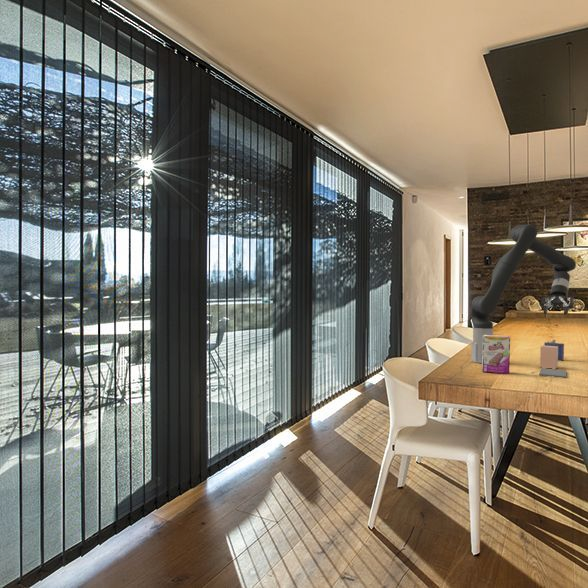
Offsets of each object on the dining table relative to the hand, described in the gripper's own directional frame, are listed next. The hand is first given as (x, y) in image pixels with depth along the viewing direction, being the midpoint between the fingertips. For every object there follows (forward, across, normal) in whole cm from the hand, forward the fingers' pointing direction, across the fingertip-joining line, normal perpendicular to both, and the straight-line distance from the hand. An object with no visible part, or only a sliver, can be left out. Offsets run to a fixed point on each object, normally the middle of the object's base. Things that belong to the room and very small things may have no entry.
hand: (555, 313), depth 235 cm
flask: (+8, -4, +28) cm, 30 cm away
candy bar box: (+47, -15, -14) cm, 51 cm away
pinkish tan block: (+27, 0, +8) cm, 28 cm away
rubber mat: (+38, +5, -4) cm, 38 cm away
